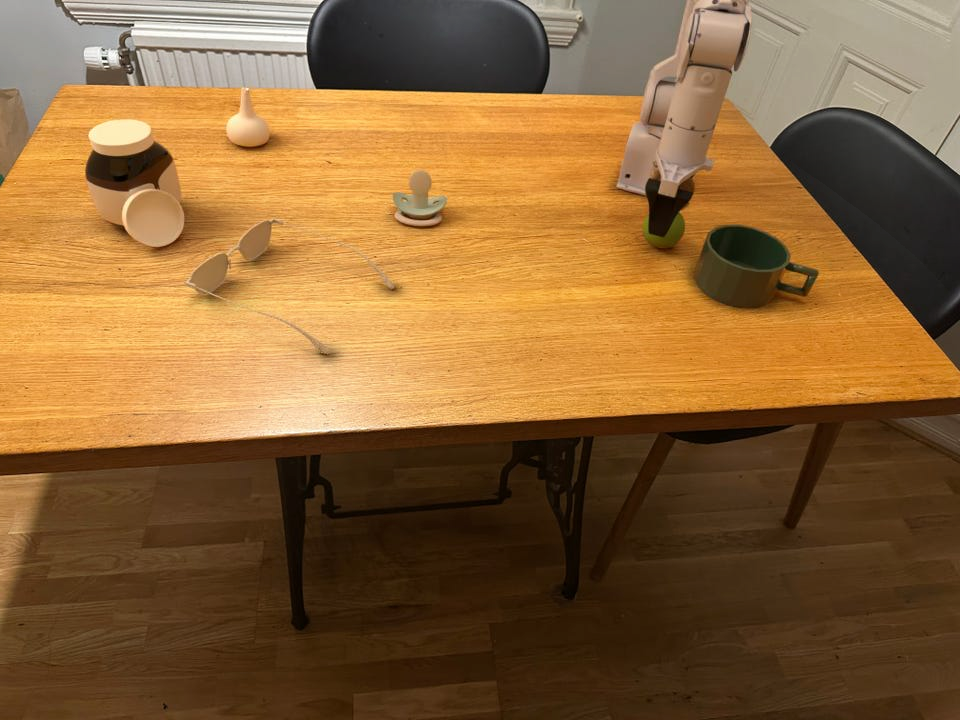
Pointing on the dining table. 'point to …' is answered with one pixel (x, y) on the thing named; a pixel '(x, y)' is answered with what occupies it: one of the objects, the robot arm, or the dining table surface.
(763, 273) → the green mug
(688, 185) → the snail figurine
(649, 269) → the dining table surface
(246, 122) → the garlic bulb
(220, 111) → the dining table surface
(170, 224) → the spread jar
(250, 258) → the eyeglasses
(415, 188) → the pacifier
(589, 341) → the dining table surface
